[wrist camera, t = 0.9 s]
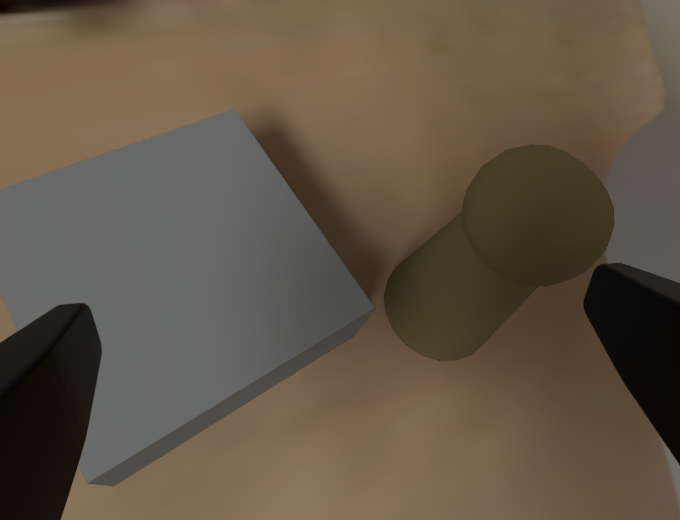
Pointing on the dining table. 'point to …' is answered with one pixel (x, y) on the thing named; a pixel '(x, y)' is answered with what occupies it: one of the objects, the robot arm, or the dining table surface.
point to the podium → (176, 282)
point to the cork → (500, 250)
